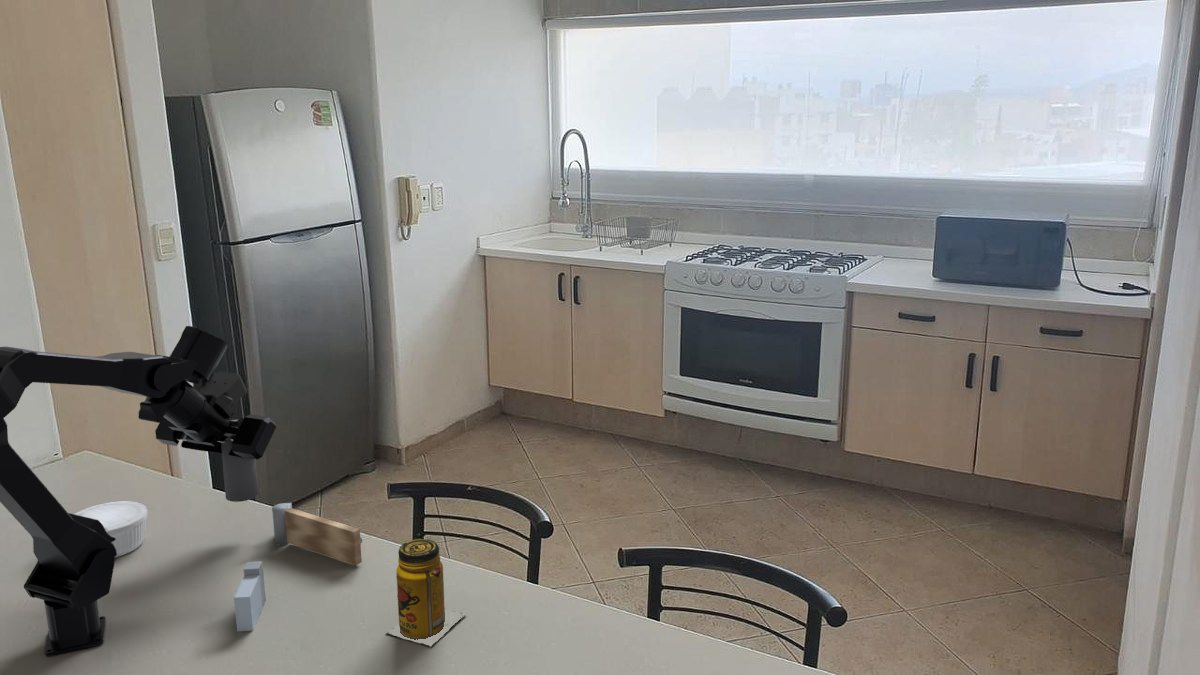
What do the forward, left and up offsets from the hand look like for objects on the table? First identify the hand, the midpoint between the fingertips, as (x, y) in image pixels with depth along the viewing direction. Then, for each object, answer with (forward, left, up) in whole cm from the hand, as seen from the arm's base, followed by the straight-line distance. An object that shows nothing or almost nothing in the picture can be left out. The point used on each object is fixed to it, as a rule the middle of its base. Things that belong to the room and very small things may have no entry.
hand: (244, 453), depth 142 cm
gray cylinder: (-1, +1, -7) cm, 7 cm away
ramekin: (+4, +20, -14) cm, 25 cm away
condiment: (-38, -19, -14) cm, 45 cm away
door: (-13, -10, -13) cm, 21 cm away
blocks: (-16, -1, -13) cm, 21 cm away
